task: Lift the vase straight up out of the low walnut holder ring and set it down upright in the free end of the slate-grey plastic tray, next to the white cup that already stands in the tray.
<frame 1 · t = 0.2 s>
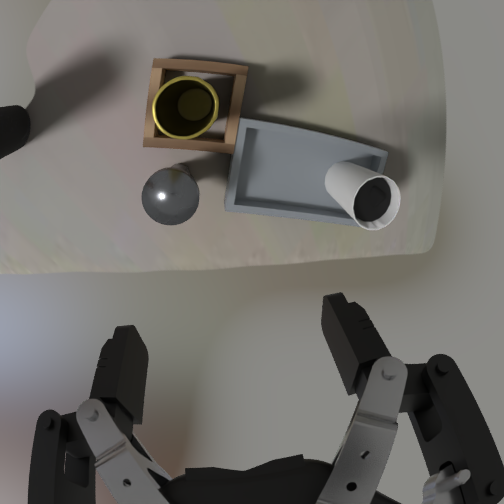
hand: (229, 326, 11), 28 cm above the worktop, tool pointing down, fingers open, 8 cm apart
tray: (306, 172, 38), on the worktop
white cup: (342, 180, 38), point 1 cm above the worktop, touching tray
vase: (195, 104, 31), resting in holder
knob post: (178, 174, 36), on the worktop
holder: (194, 104, 31), on the worktop
travel mug: (14, 127, 27), on the worktop
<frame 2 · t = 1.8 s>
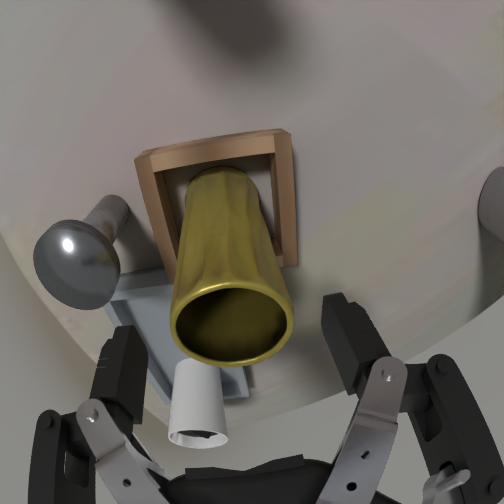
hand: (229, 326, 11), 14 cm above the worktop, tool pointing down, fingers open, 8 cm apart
tray: (186, 340, 32), on the worktop
white cup: (197, 369, 34), resting on tray
vase: (221, 200, 24), resting in holder
knob post: (113, 211, 22), on the worktop
holder: (221, 201, 23), on the worktop
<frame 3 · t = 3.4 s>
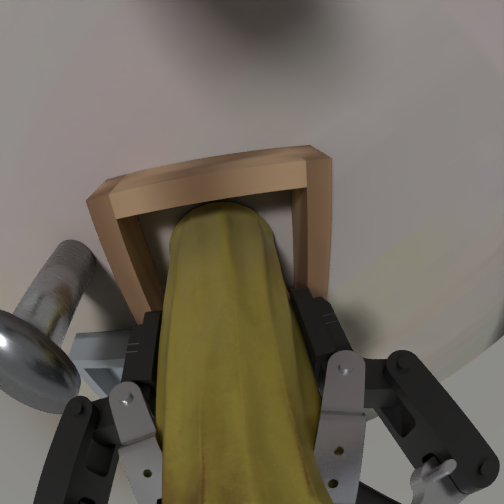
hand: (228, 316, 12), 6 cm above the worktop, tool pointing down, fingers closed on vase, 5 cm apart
tray: (181, 397, 25), on the worktop
vase: (221, 247, 17), resting in holder, touching gripper
knob post: (74, 260, 15), on the worktop
holder: (221, 249, 17), on the worktop
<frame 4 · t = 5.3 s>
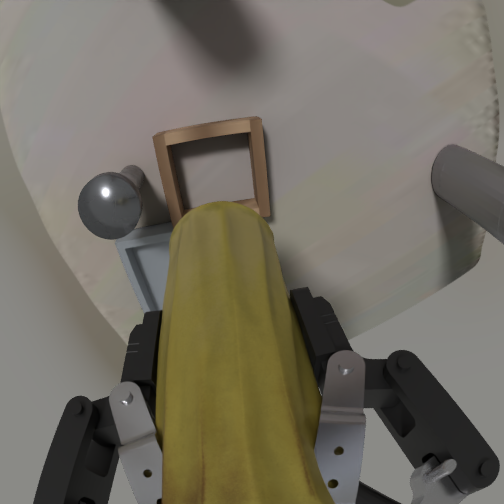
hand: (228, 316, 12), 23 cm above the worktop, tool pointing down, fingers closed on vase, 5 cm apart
tray: (184, 289, 39), on the worktop
vase: (221, 247, 17), point 17 cm above the worktop, touching gripper
knob post: (132, 177, 30), on the worktop
holder: (213, 169, 31), on the worktop
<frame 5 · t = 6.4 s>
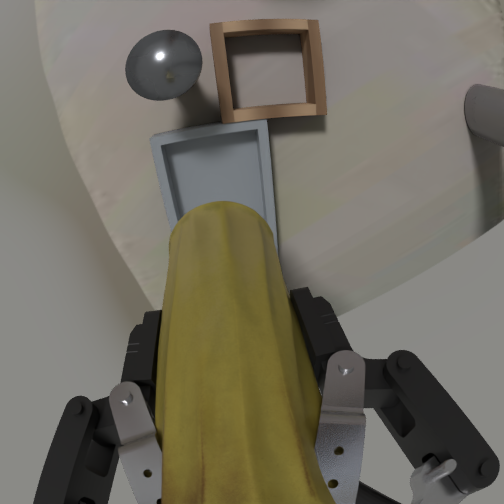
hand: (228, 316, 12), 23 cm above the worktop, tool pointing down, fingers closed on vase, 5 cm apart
tray: (221, 209, 34), on the worktop
vase: (221, 246, 17), point 17 cm above the worktop, touching gripper
knob post: (176, 72, 25), on the worktop
holder: (266, 69, 26), on the worktop
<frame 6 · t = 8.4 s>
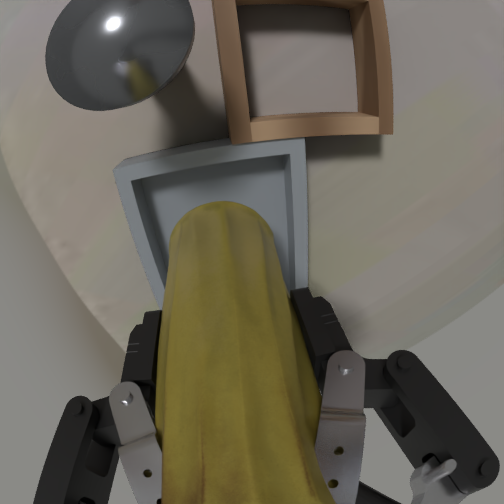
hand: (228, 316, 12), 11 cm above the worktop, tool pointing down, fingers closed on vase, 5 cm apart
tray: (228, 267, 24), on the worktop
vase: (221, 246, 17), point 5 cm above the worktop, touching gripper
knob post: (156, 60, 15), on the worktop
holder: (299, 56, 16), on the worktop
when the fingers open (8 cm above the worktop, at t = 10.0 s): vase drops 2 cm, resting on tray.
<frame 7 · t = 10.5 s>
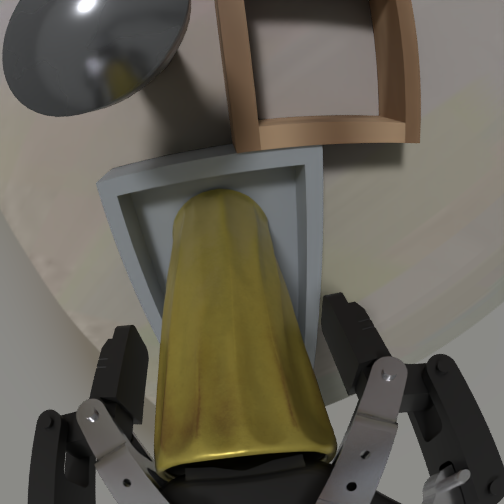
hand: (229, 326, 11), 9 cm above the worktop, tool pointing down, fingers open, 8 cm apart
tray: (231, 288, 21), on the worktop
vase: (220, 231, 18), resting on tray
knob post: (147, 52, 12), on the worktop
holder: (314, 50, 13), on the worktop
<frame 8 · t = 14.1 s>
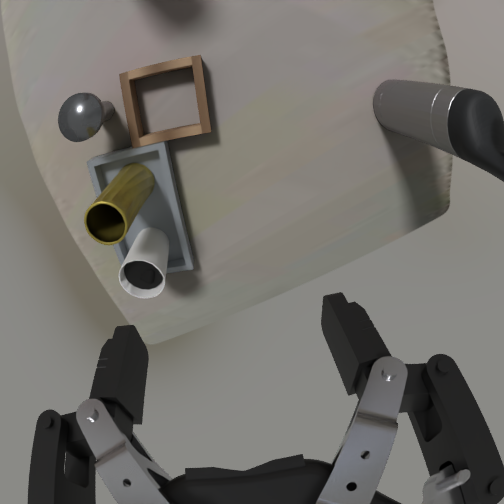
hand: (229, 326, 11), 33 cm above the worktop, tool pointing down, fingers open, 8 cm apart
tray: (144, 210, 42), on the worktop
white cup: (152, 242, 45), resting on tray
vase: (135, 181, 39), resting on tray
knob post: (104, 110, 33), on the worktop
holder: (167, 100, 34), on the worktop
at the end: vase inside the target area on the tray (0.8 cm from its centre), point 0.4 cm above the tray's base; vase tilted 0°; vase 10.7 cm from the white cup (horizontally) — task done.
